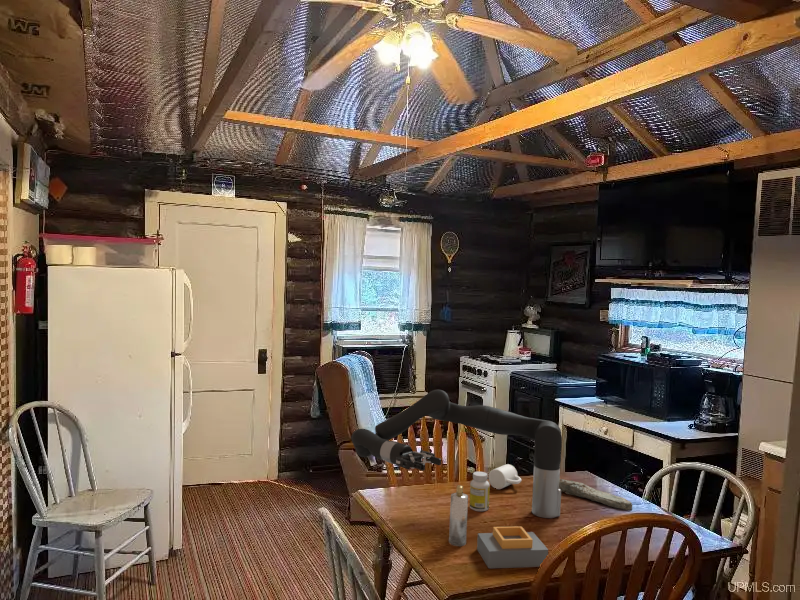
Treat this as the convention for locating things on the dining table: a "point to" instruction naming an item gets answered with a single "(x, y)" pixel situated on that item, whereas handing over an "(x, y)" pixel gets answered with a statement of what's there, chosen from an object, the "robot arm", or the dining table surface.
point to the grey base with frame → (511, 548)
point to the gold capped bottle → (458, 517)
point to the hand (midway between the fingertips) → (432, 464)
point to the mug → (503, 476)
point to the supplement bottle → (479, 492)
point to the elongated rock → (593, 494)
